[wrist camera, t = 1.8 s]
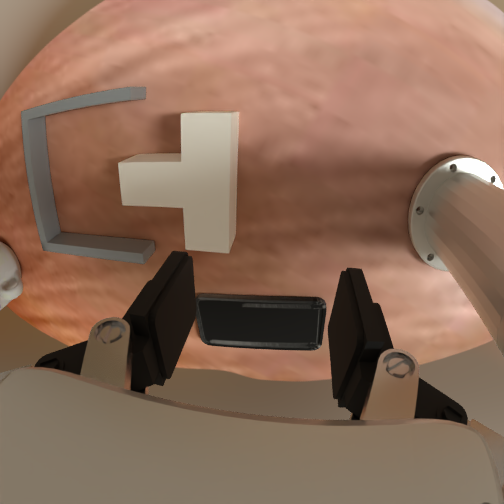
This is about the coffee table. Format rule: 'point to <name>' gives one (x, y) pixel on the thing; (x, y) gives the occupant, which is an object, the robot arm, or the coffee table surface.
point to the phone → (261, 321)
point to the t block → (192, 179)
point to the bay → (43, 188)
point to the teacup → (9, 276)
